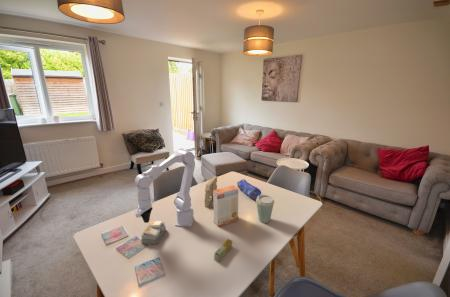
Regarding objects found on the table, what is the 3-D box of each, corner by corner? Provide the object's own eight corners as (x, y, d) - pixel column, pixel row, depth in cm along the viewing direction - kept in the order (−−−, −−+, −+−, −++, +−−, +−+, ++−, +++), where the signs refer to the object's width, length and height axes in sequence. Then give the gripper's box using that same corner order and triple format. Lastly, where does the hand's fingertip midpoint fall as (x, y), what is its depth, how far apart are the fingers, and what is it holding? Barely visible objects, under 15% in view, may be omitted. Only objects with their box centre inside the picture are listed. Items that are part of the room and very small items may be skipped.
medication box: (218, 263, 91) (218, 255, 90) (213, 260, 92) (213, 253, 91) (231, 246, 101) (232, 240, 100) (227, 244, 102) (227, 237, 101)
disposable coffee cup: (276, 220, 122) (278, 197, 119) (266, 228, 115) (268, 204, 111) (261, 213, 129) (262, 192, 126) (251, 220, 122) (252, 198, 118)
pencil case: (236, 189, 162) (236, 178, 160) (245, 187, 166) (245, 176, 164) (251, 202, 143) (252, 189, 141) (261, 199, 147) (262, 187, 145)
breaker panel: (165, 229, 113) (165, 222, 112) (156, 244, 102) (155, 236, 100) (152, 228, 114) (151, 221, 113) (141, 243, 102) (140, 235, 101)
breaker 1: (162, 223, 111) (162, 220, 111) (160, 227, 108) (159, 224, 107) (152, 224, 112) (151, 221, 111) (149, 228, 108) (148, 224, 108)
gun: (208, 208, 135) (209, 186, 132) (204, 207, 136) (204, 186, 133) (217, 194, 158) (217, 176, 156) (213, 194, 159) (213, 175, 157)
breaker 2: (156, 233, 106) (158, 230, 105) (154, 237, 102) (155, 234, 102) (146, 228, 105) (147, 225, 105) (143, 232, 102) (144, 229, 102)
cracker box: (233, 215, 127) (233, 184, 122) (238, 220, 122) (239, 188, 117) (213, 221, 121) (212, 189, 115) (217, 227, 115) (217, 194, 110)
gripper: (143, 190, 107) (146, 213, 111) (128, 204, 93) (131, 230, 97) (156, 191, 107) (158, 214, 110) (142, 205, 93) (145, 231, 96)
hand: (146, 221), depth 103 cm, fingers closed
